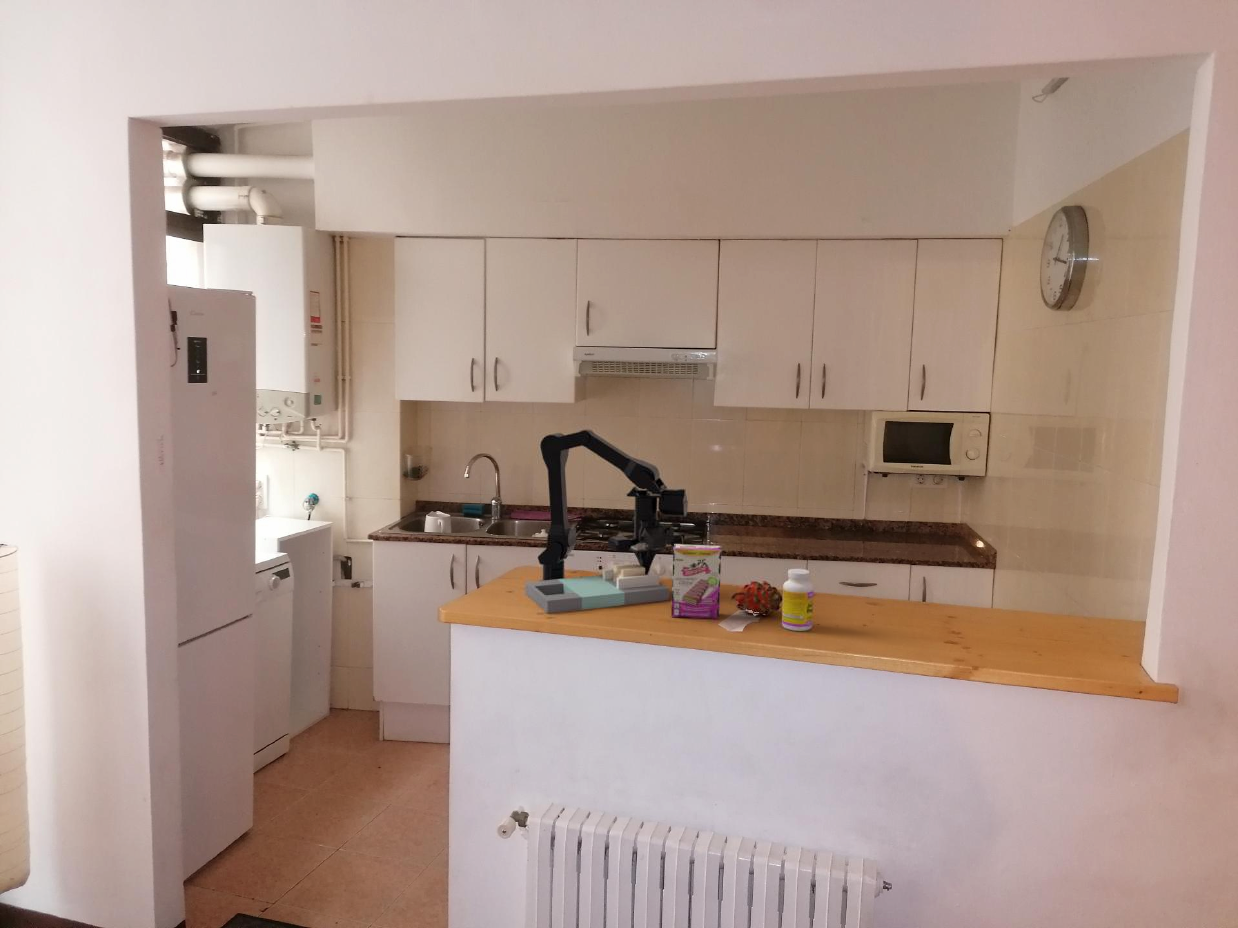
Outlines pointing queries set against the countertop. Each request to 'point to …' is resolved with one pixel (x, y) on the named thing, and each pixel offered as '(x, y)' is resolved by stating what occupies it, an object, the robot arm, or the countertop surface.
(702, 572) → the candy bar box
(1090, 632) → the countertop surface
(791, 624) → the supplement bottle
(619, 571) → the beech block
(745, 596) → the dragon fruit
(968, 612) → the countertop surface
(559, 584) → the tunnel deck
